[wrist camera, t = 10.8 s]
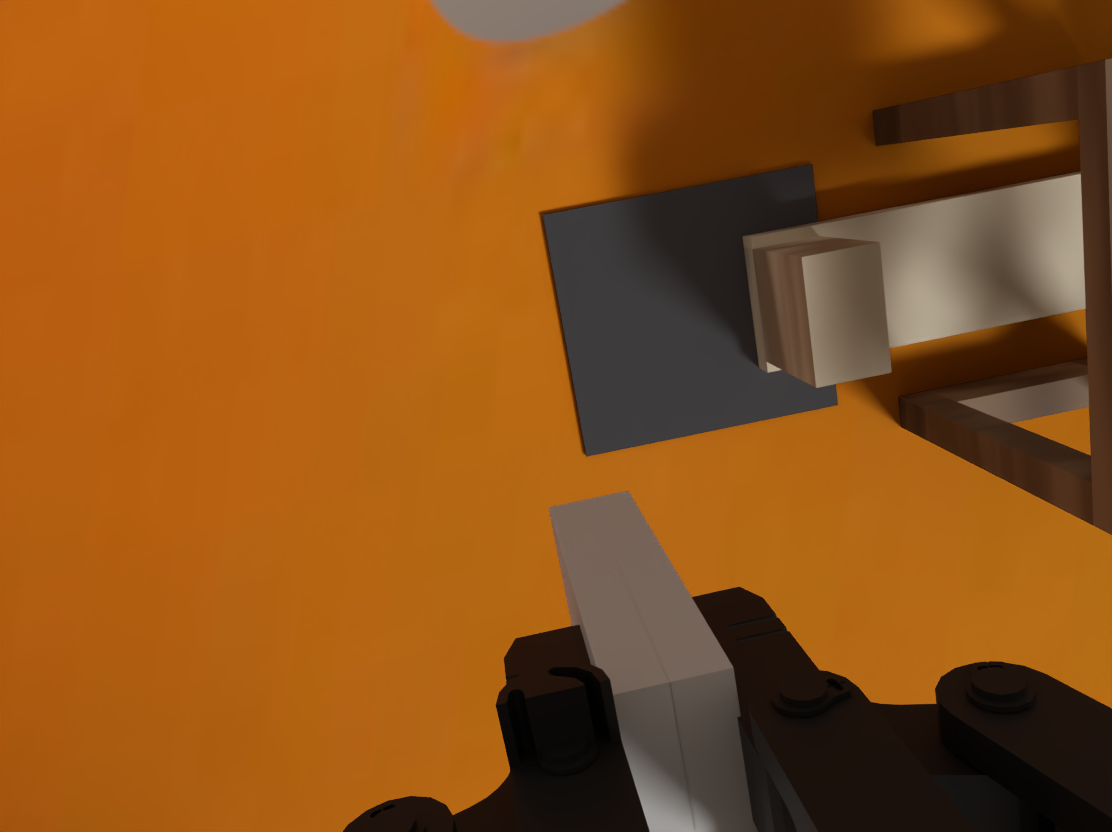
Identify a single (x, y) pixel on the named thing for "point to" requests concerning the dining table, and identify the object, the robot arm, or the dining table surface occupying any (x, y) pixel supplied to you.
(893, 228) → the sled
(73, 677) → the dining table surface
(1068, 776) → the robot arm
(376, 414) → the dining table surface
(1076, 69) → the tunnel
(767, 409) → the dark grey square plate
